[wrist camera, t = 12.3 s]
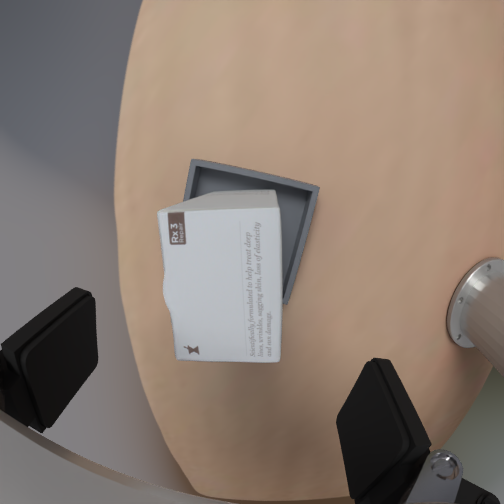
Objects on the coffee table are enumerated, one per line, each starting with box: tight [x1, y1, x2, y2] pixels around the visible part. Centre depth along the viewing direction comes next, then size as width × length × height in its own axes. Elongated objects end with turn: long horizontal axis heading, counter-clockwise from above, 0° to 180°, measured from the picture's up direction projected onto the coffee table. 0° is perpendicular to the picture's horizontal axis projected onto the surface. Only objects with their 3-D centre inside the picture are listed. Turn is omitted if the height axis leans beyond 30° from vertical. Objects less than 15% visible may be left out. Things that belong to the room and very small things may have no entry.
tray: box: [183, 159, 320, 304], centre depth 27 cm, size 11×11×3 cm
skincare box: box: [157, 189, 282, 363], centre depth 21 cm, size 8×6×15 cm
